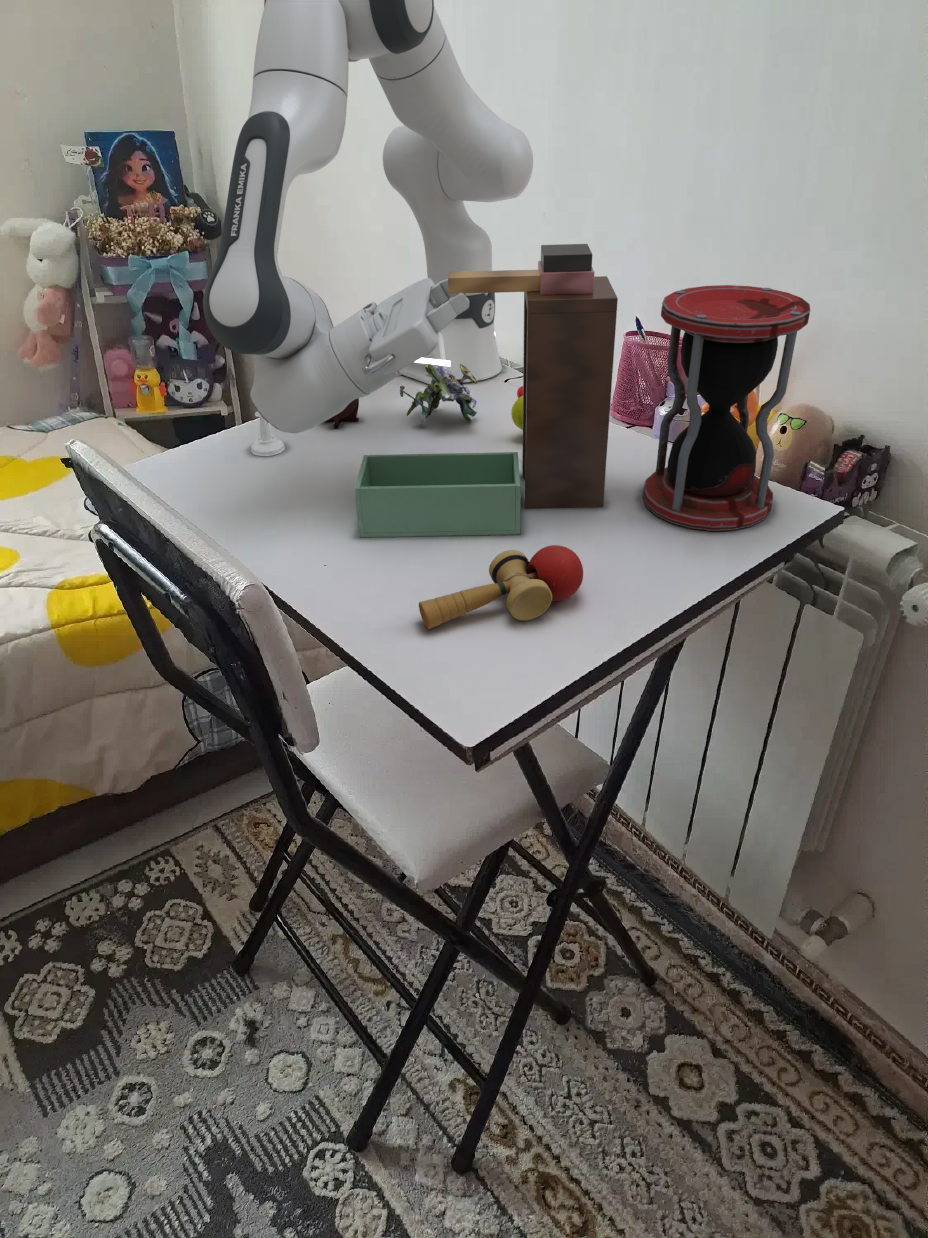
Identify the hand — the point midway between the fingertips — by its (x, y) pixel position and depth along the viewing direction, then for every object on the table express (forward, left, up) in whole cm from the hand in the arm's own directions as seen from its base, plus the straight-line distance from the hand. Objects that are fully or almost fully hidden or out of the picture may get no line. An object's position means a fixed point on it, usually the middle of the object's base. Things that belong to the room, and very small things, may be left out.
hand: (467, 287), depth 100 cm
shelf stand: (+10, +7, -26) cm, 29 cm away
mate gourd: (-32, +9, -27) cm, 42 cm away
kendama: (+19, -21, -27) cm, 39 cm away
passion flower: (-18, +17, -27) cm, 36 cm away
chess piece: (-34, -5, -27) cm, 43 cm away
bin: (+1, -8, -26) cm, 28 cm away
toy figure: (-3, +19, -27) cm, 33 cm away
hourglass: (+27, +14, -27) cm, 40 cm away
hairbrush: (+5, +3, 0) cm, 6 cm away
